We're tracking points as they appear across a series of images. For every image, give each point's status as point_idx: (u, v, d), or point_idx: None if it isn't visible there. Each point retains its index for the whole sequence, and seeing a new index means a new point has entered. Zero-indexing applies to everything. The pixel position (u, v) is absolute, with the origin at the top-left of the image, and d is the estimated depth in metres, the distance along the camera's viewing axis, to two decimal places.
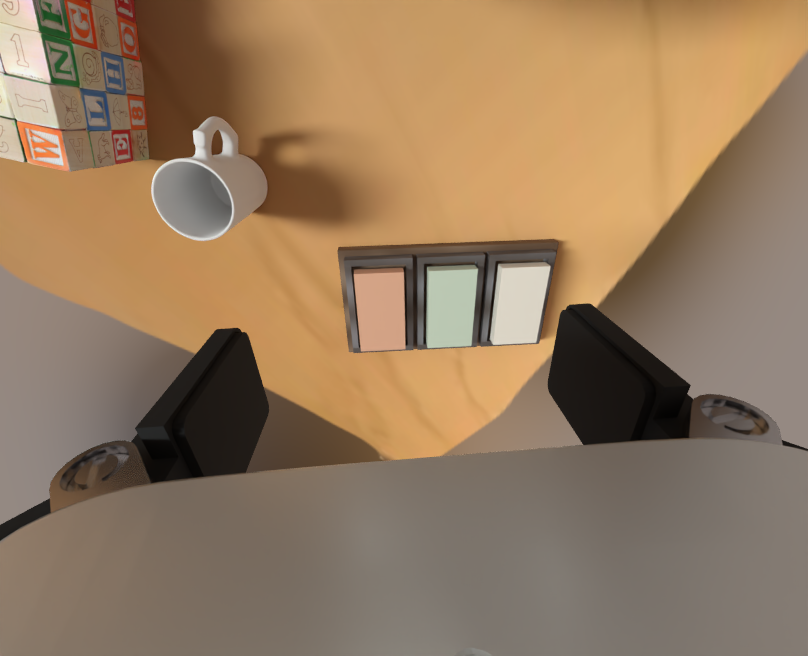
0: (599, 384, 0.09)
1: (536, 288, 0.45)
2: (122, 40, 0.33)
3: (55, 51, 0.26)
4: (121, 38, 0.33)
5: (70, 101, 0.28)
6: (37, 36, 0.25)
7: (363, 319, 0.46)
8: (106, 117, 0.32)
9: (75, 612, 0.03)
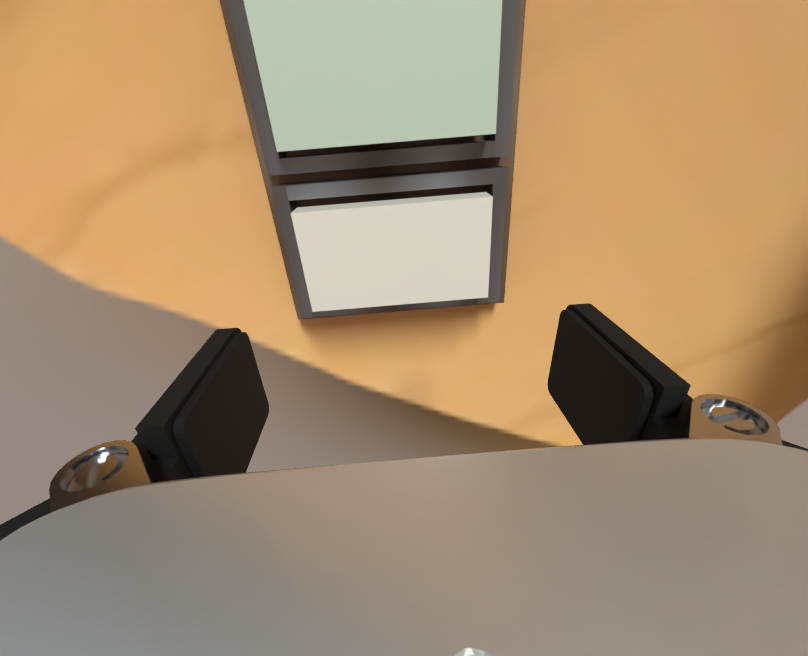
0: (599, 384, 0.09)
1: (442, 282, 0.22)
2: None
3: None
4: None
5: None
6: None
7: None
8: None
9: (75, 612, 0.03)
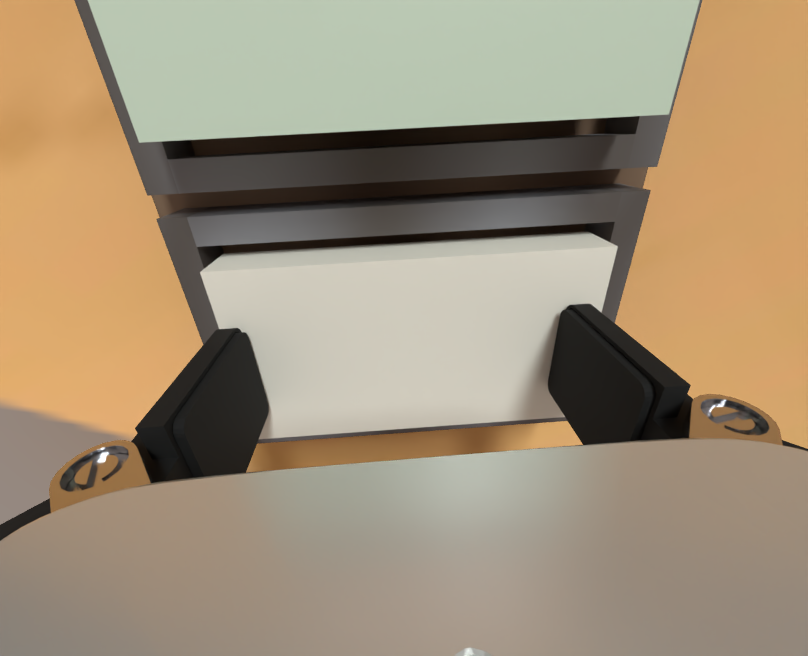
0: (599, 384, 0.09)
1: (497, 393, 0.12)
2: None
3: None
4: None
5: None
6: None
7: None
8: None
9: (75, 612, 0.03)
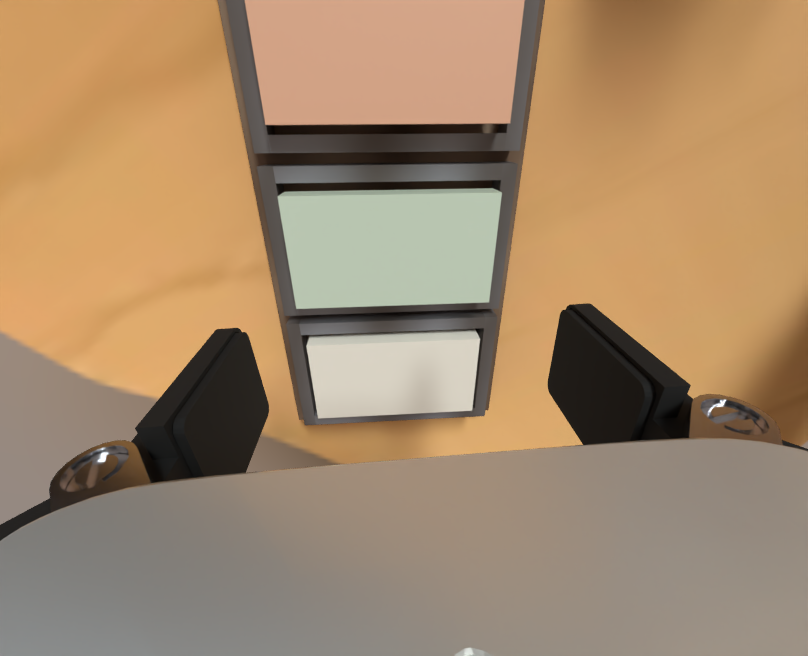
0: (599, 384, 0.09)
1: (433, 399, 0.25)
2: None
3: None
4: None
5: None
6: None
7: None
8: None
9: (75, 612, 0.03)
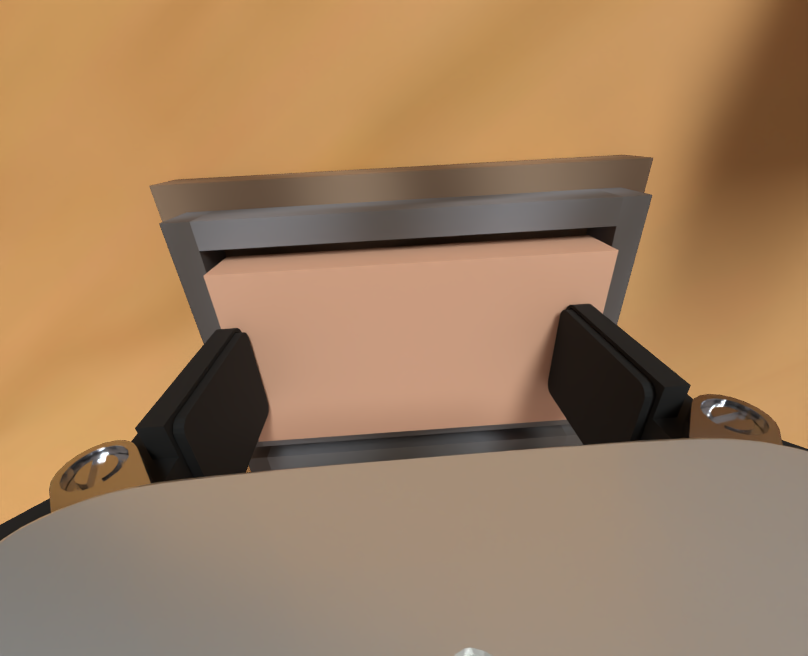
0: (599, 384, 0.09)
1: None
2: None
3: None
4: None
5: None
6: None
7: (390, 289, 0.10)
8: None
9: (75, 612, 0.03)
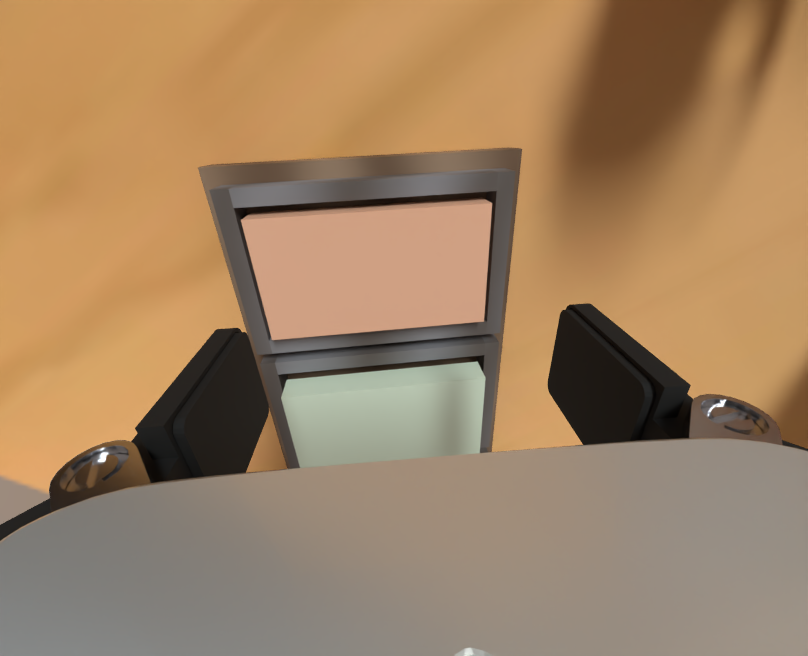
0: (599, 384, 0.09)
1: None
2: None
3: None
4: None
5: None
6: None
7: (356, 228, 0.16)
8: None
9: (75, 612, 0.03)
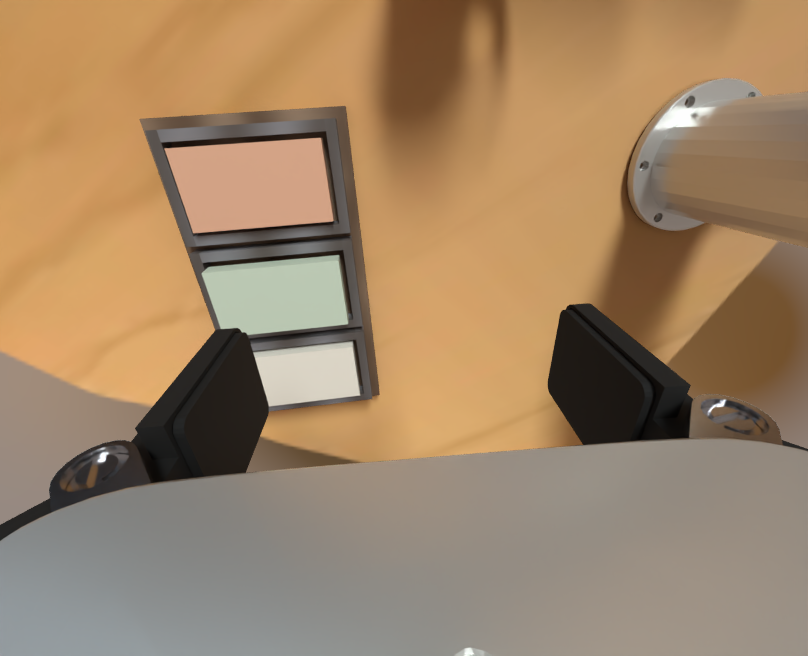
0: (599, 384, 0.09)
1: (331, 389, 0.37)
2: None
3: None
4: None
5: None
6: None
7: (237, 154, 0.26)
8: None
9: (75, 612, 0.03)
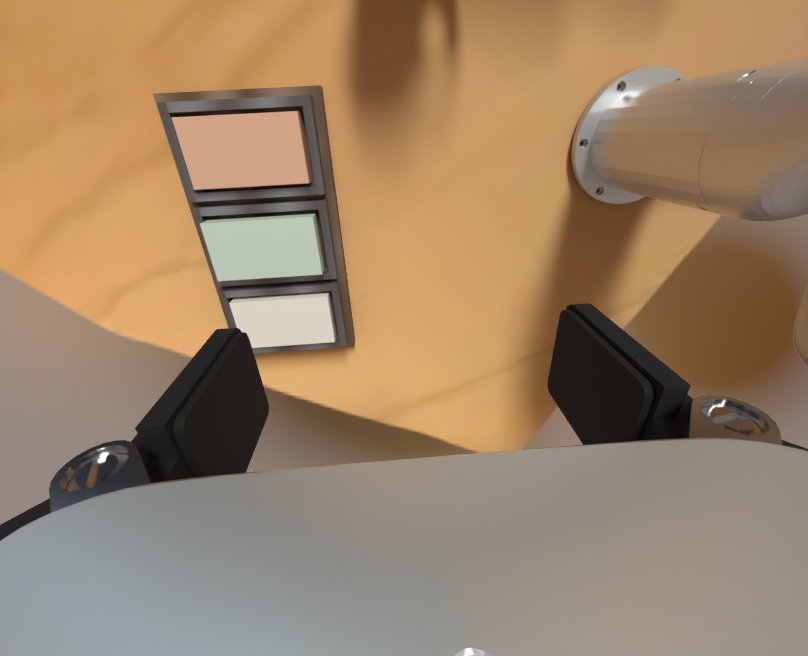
0: (599, 384, 0.09)
1: (309, 334, 0.43)
2: None
3: None
4: None
5: None
6: None
7: (229, 123, 0.32)
8: None
9: (75, 612, 0.03)
